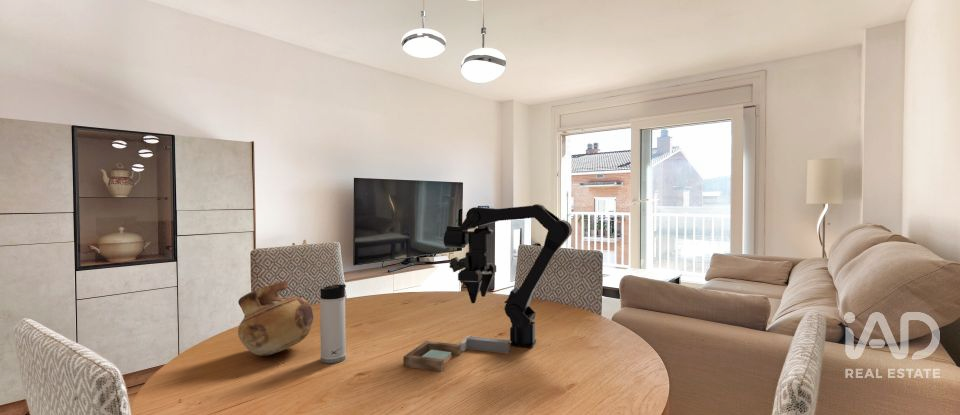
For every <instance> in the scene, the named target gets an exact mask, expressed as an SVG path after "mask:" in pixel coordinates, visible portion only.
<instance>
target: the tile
mask: <svg viewBox="0 0 960 415" xmlns="http://www.w3.org/2000/svg"><path fill="white" fill-rule="evenodd" d="M422 357H429V358H437V359H444V365H445V364H446V363H447V362H448V361H450V360H451V359H452V355H451V352H446V351H438V350H430V351H429V352H427V353H426V354H424V355H423V356H422Z"/></svg>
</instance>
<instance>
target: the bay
mask: <svg viewBox="0 0 960 415" xmlns="http://www.w3.org/2000/svg"><path fill="white" fill-rule="evenodd" d="M430 350H438V351H446V352H451V356H460V355H461V354H462V351H461V345H460V343H448V342H439V341H429V340H425V341H424V342H422V343H421V344H420V345H418V346H416V347H415V348H414V349H412V350H411V351H410V352H408V353H406V354H405V355H404V356H402V357H403V360H402V362H403V365H402V366H403V367H404V368H405V367H406V368H412V369H413V368H414V369H419V370H420V369H421V370H427V371H435V372H442V371H444V369H445V367H444V366H445V364H444V359H437V358H429V357H422V356H423V355H424V354H426V353H427V352H429V351H430Z"/></svg>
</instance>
